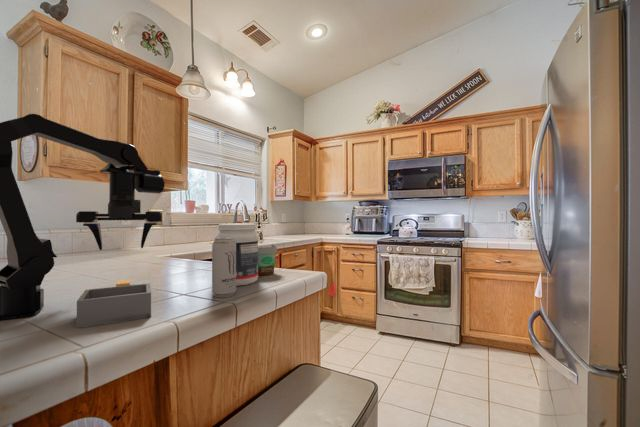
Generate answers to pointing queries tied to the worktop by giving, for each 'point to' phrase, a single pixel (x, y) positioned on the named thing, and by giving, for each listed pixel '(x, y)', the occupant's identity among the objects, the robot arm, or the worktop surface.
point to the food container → (266, 260)
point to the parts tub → (113, 305)
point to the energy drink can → (223, 267)
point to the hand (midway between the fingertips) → (122, 249)
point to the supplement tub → (243, 250)
